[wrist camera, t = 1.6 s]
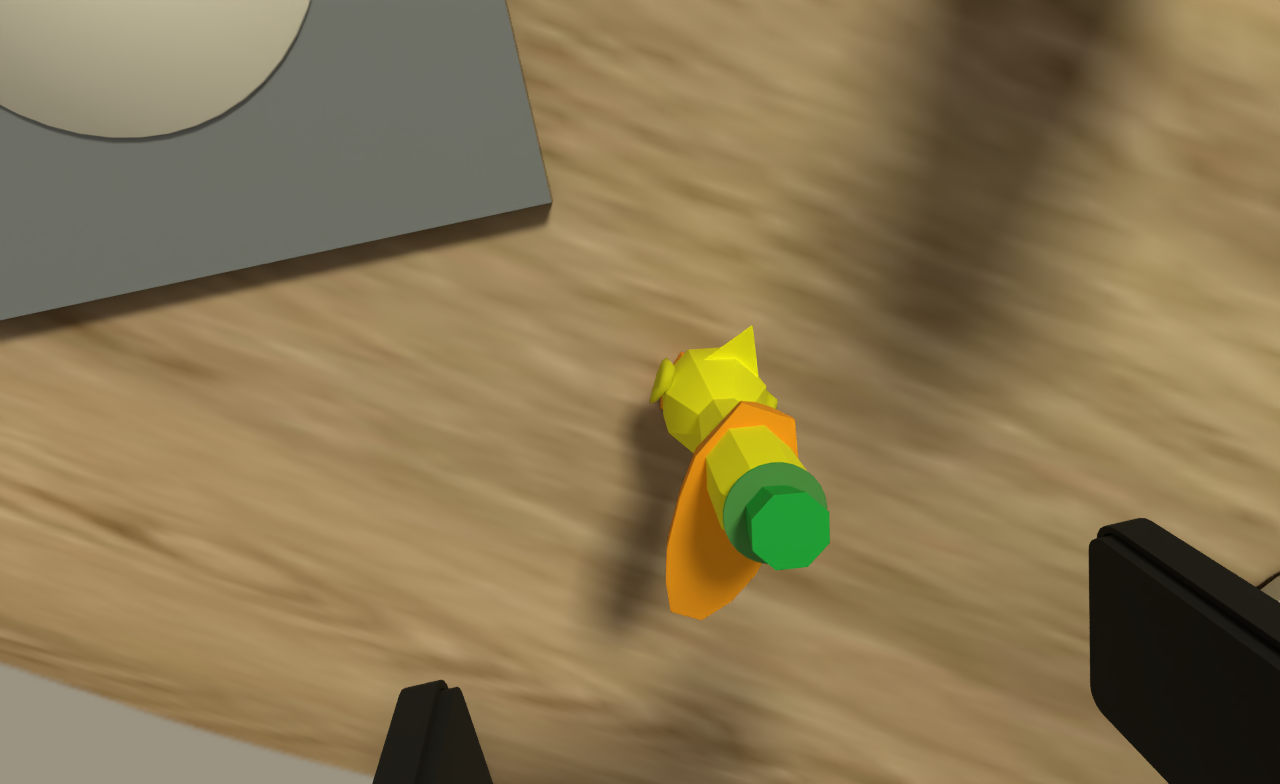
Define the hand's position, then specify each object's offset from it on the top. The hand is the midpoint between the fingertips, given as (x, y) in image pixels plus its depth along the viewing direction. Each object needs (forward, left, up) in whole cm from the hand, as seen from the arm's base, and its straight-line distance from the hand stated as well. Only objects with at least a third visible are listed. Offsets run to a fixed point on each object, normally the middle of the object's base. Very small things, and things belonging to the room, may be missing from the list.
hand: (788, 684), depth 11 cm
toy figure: (-1, 0, -16) cm, 16 cm away
